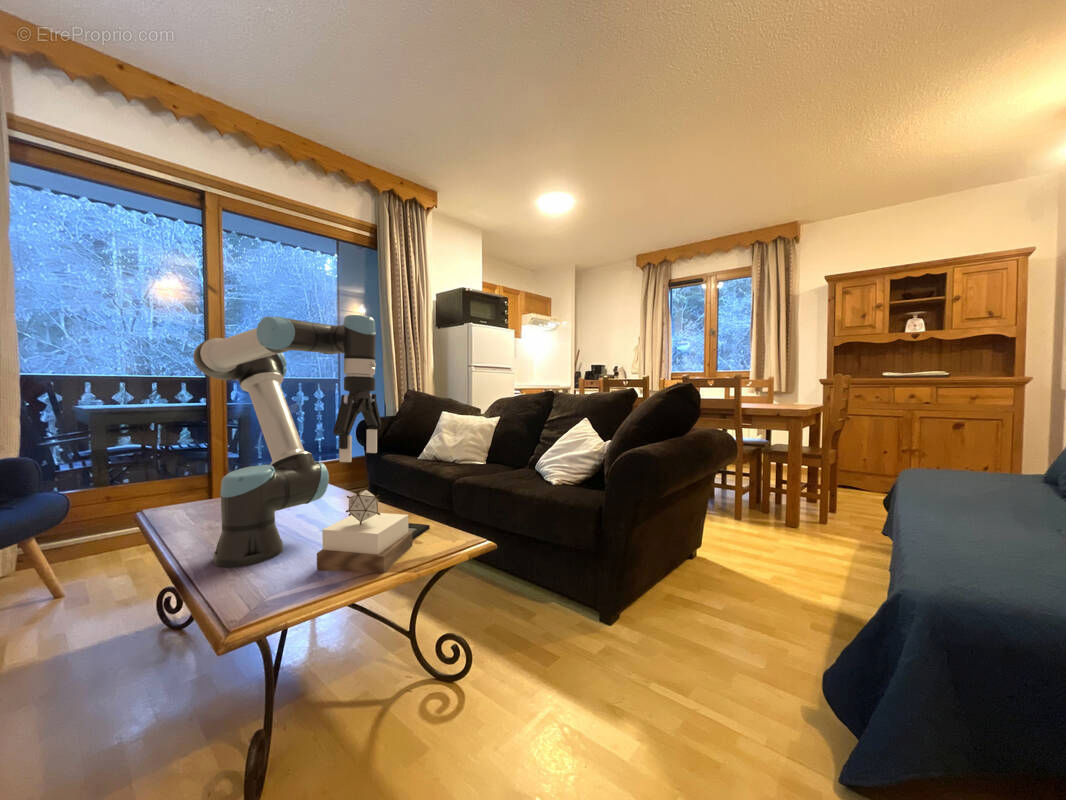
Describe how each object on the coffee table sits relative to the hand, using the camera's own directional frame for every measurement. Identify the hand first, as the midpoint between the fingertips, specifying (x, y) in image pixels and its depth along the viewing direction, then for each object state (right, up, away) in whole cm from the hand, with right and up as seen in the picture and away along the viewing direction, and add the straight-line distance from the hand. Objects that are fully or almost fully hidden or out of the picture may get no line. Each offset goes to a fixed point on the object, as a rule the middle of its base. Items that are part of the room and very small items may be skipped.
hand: (359, 457), depth 108 cm
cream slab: (+2, -22, -1) cm, 22 cm away
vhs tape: (+8, -26, +15) cm, 31 cm away
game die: (+2, -16, +1) cm, 16 cm away
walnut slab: (+3, -27, -1) cm, 27 cm away
